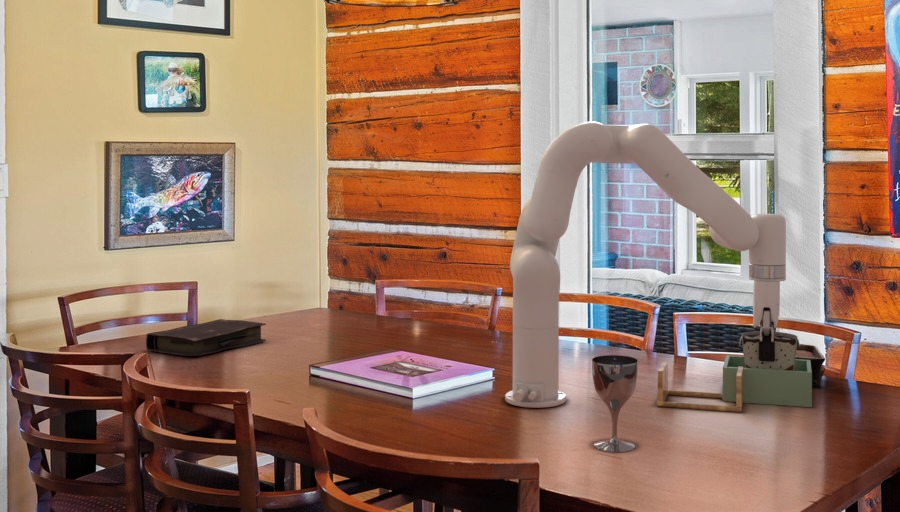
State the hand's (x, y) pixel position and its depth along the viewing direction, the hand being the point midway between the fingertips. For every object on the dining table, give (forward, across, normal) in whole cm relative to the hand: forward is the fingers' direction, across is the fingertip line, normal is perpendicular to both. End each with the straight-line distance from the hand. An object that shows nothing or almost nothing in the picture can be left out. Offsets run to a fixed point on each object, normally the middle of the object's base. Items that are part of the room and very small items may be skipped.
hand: (767, 356), depth 203 cm
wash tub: (+8, 0, 0) cm, 8 cm away
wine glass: (+9, +43, -25) cm, 50 cm away
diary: (+9, -13, -143) cm, 144 cm away
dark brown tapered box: (+9, -17, +5) cm, 20 cm away
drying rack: (+8, +9, -13) cm, 18 cm away
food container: (+5, 0, 0) cm, 5 cm away
